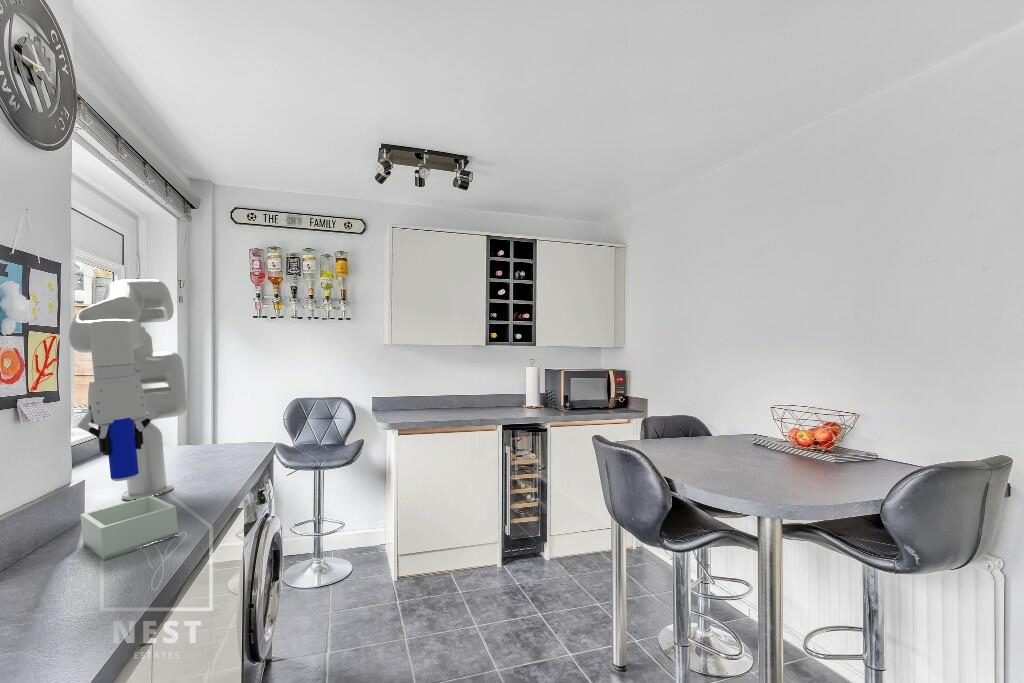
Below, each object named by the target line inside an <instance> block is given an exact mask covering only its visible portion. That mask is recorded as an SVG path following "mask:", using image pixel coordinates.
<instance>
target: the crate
mask: <svg viewBox="0 0 1024 683" xmlns="http://www.w3.org/2000/svg"><path fill="white" fill-rule="evenodd" d="M79 516H80V523H81V524H80V526H81V533H82V545H84V546H85V547H86V548H87V549H89V550H90V551H91V552H93V553H94V554H95V555H96V556H97V557H99V558H100V559H101V560H102V561H108V560H110V559H113V558H116V557H119V556H122V555H125V553H126V554H128V552H129V553H131V551H132V552H134V551H133V550H135V549H137V548H140V547H143V546H144V545H147V544H150V543H152V542H155V541H160V540H164V539H167V538H171V537H173V536H175V535H179V527H178V526H179V525H178V517H177V516H178V515H177V506H175V505H173V504H171V503H169V502H167V501H166V500H165V501H164V500H162V499H161V498H158V497H157V496H152V495H151V496H147V497H143V498H140V499H136V500H127V501H125V502H121V503H118V504H114V505H110V506H106V507H103V508H99V509H96V510H91V511H88V512H85V513H80V515H79ZM171 539H172V538H171ZM135 551H136V550H135Z"/></svg>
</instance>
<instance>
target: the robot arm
mask: <svg viewBox="0 0 1024 683" xmlns="http://www.w3.org/2000/svg"><path fill="white" fill-rule="evenodd" d="M173 315H174V303H173V299H172V297H171V293H170V290H169V288H168V286H167V285H166V284H165V283H164V282H163V281H161V280H158V279H120V280H116V281H113V282H112V283H110V284H109V285H108V286H107V287H106V289H105V293H104V296H103V299H102V301H100V302H99V301H98V302H97V303H95V304H92V305H90V306H87V307H85V308H82V309H81V310H79V311H78V312H77V313H76V314H75V315H74V316H73V318H72V321H71V324H70V326H69V327H70V328H69V332H68V341H69V344H70V346H71V347H72V348H73V350H75V351H77V352H79V353H86V354H87V353H89V354H90V353H91V361H92V372H93V381H89V383H88V392H87V412H86V414H85V416H83V418H82V419H81V420H80V421H79V423H78V424H77V425H76V426H77V428H78V429H80V430H83V431H85V432H88V433H90V434H91V435H93V436H95V437H96V438H98V445H99V446H98V447H99V452H100V453H102V454H103V455H104V456H108V457H109V455H110V454H111V450H110V440H109V438H108V437H107V435H106V434H107V430H108V427H109V424H111V423H113V422H114V419H115V418H116V417H117V416H118V415H122V414H126V415H128V416H129V417H130V418H131V420H133V421H134V429H135V439H136V450H137V460H138V470H139V473H138V475H137V476H136V477H135V478H132V479H128V480H126V484H127V491H126V490H125V491H124V492H122V494H121V499H122V500H124V499H125V501H132V500H134V499H140V498H143V497H147V496H151V495H156V494H160V493H163V492H166V493H168V492H170V491H172V490H173V488H174V485H173V483H171V482H167V476H166V475H167V474H166V466H165V455H164V454H165V453H164V444H163V435H162V431H161V430H160V428H158V427H157V425H155V424H153V422H152V421H154V420H159V419H167V418H168V419H169V418H174V417H180V416H182V415H184V414H185V413H186V411H187V408H188V406H187V404H188V401H187V390H186V380H185V378H186V377H185V370H184V363H183V360H182V357H181V355H180V354H179V353H177V352H174V351H159V352H154V349H153V338H152V336H151V334H149V332H148V331H146V328H145V327H144V325H143V323H144V324H145V323H146V324H147V323H165V322H168V321H170V320H171V319H172V318H173ZM153 384H167V386H163V387H162V386H161V387H151V388H150V387H149V388H143V386H144V385H153ZM90 424H93V425H98V426H97V428H96V427H93V426H91V425H90ZM169 490H170V491H169ZM167 491H168V492H167ZM163 494H164V493H163Z"/></svg>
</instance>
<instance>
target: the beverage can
mask: <svg viewBox="0 0 1024 683" xmlns="http://www.w3.org/2000/svg"><path fill="white" fill-rule="evenodd" d="M106 435H107V437H108V438H109V440H110V450H111V454H110V455H108V462H109V463H108V464H109V476H110V479H111V480H112V481H114V482H121V481H122V482H123V481H127V480H128V479H132V478H135V477H136V476H137V475H138V473H139V470H138V460H137V450H136V439H135V429H134V421H133V420H131V418H130V417H129V416H128V415H126V414H122V415H118V416H117V417H116V418H115V419H114V422H113V423H111V424H109V427H108V430H107V434H106Z"/></svg>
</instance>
